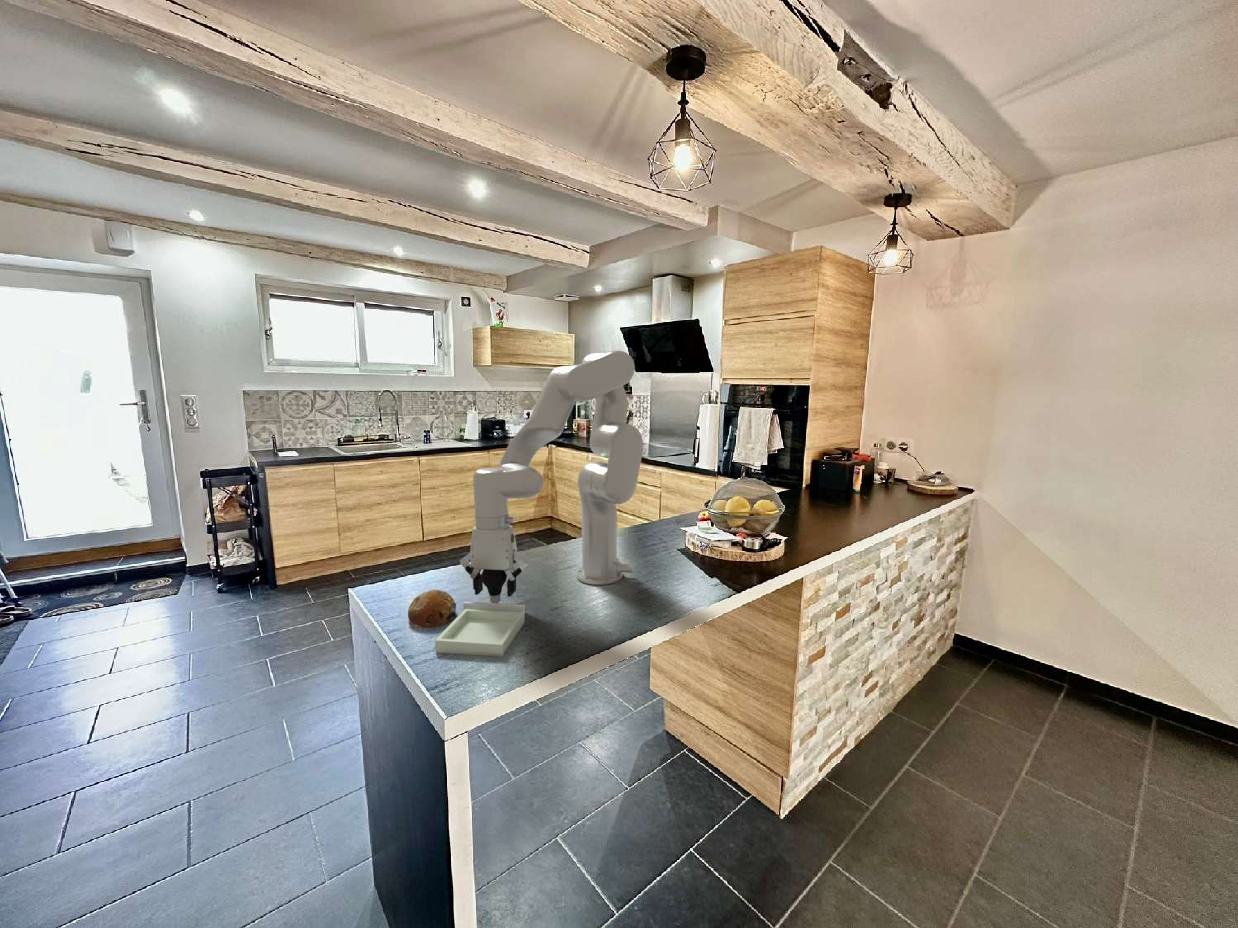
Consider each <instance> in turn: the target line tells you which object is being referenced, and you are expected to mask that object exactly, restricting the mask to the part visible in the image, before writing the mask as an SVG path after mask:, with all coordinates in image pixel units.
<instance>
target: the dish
mask: <svg viewBox="0 0 1238 928" xmlns="http://www.w3.org/2000/svg"><path fill="white" fill-rule="evenodd" d="M525 621H526V620H525V618H524V612H510V611H493V610H475V609H464V608H463V611H462V612H460V614H459V615H458V616H456V618H455V619H454V620H453V621H452V622H451V623H450V624H449V625H448V626H447V627H446V629H444V630H443V631H442V632H441V634H439V635H438V637H437V638H436V639H434V647H435V653H443V654H455V655H456V654H457V655H458V654H459V655H467V656H468V655H472V656H485V657H499V658H503V657H504V656H505V654H506V653H507V651H508V649H509V648H510V646H511V645H512V644H513V642H514V640H515V639H516V637H517V635H518V634H519V633H520V631H521V629H522V628H523V626H524V624H525Z"/></svg>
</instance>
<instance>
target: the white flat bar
mask: <svg viewBox="0 0 1238 928" xmlns="http://www.w3.org/2000/svg"><path fill="white" fill-rule="evenodd" d="M462 605H463V606H462V607H463V610H464V609H475V610H493V611H510V612H524V618H525V617H526V615H525V613H526V611H525V604H518V603H500V602H499V603H491V602H479V601H463V604H462Z"/></svg>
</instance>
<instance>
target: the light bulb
mask: <svg viewBox="0 0 1238 928" xmlns="http://www.w3.org/2000/svg"><path fill="white" fill-rule="evenodd" d="M481 574H482V582H483V586H485V587H486V588H487V591H488V592H487V593H488V595H489V603H500V602H501V600H502V599H501V597H502V596H501V593H502V590H503V586H504V585H505V583H507V580H508V576H507V574H506V573H505V571H504V570H484V569H482V572H481Z"/></svg>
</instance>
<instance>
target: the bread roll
mask: <svg viewBox="0 0 1238 928" xmlns="http://www.w3.org/2000/svg"><path fill="white" fill-rule="evenodd" d="M456 612H457V602H455V600H454V598H453V597H452V595H450V593H449V592H447V591H446V590H445V591H444V590H441V589H431V590H428V591H425V592H422V593H421V594H419V595H417V596H416V597H415V598H414V599H413V600H412V601H411V603H410V605H409V607H408V610H407V618H408V621H409V622H410V624H411V625H413V626H415V625H417V626H416V627H420V628H436V627H440V626H442V625H444V624H447V623H450V622H451V621H452V620H453V619H454V617H455V616H456Z"/></svg>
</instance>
